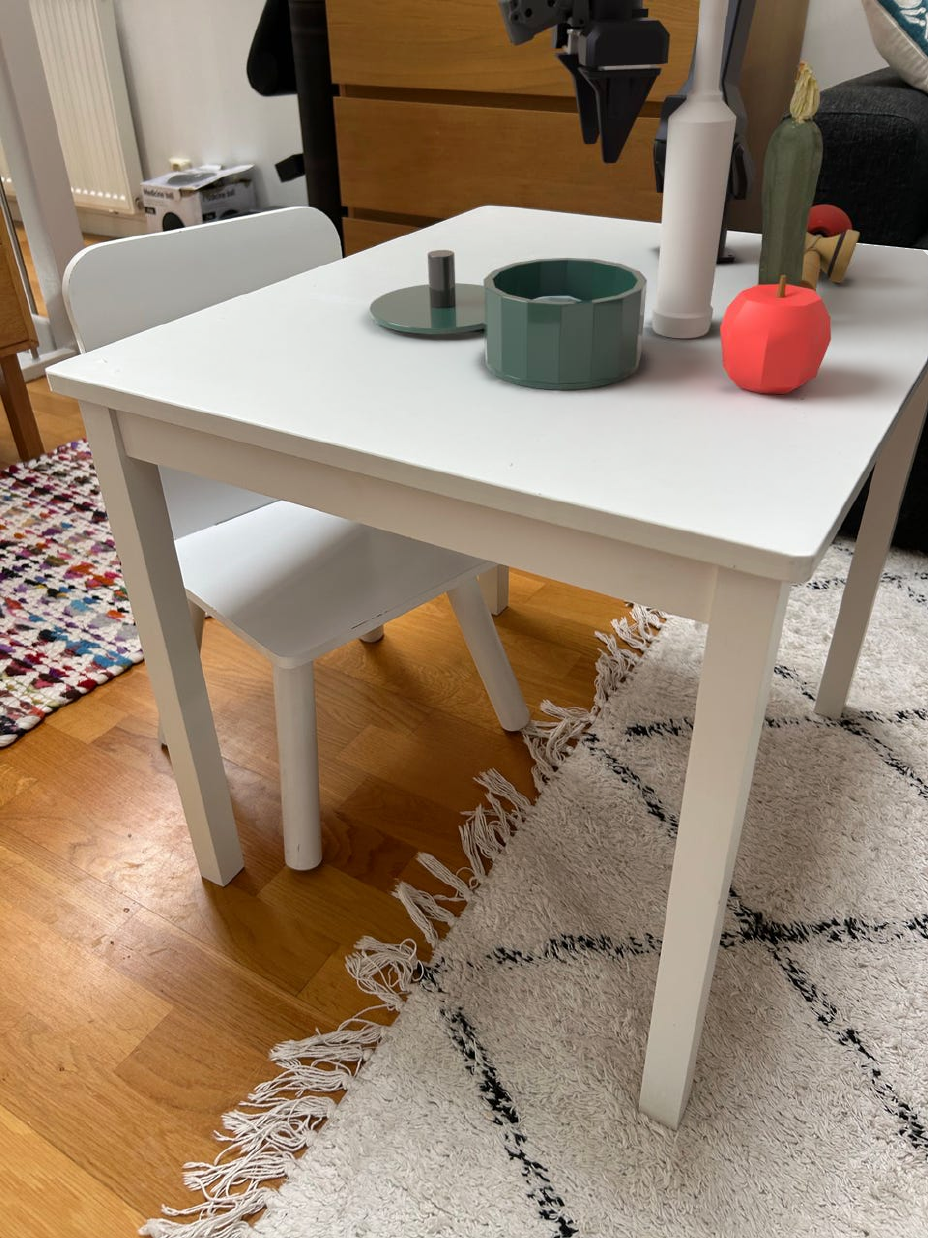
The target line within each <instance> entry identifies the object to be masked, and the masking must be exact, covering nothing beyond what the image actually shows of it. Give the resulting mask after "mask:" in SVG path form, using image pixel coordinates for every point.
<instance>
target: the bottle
mask: <svg viewBox="0 0 928 1238" xmlns="http://www.w3.org/2000/svg"><path fill="white" fill-rule="evenodd" d="M728 2H729V0H699V9H698V10H699V11H698V25H699V26H698V25H697V30H698V36H697V47H696V57H695V67H694V77H693V87H692V90H691V91H690V92H688V93H687V100H686V101H685V102H684V103H683V104H682V105H681V106H680V107H679V108H678V109H677V110H676V111H675V112H674V113H673V114H671V115H670V116H669V120H668V135H667V150H666V165H665V180H664V193H663V194H662V195H663V198H662V212H661V226H660V227H661V228H660V243H659V244H660V245H659V255H658V256H659V258H658V272H657V273H658V274H657V286H656V287H657V288H656V302H655V303H654V305H653V307H652V312H651V324H652V330H653V331H654V332H655V333H656V334H657V335H660V336H663V337H667V338H672V339H695V338H699V337H703V336H705V335H706V334H708V333H709V331H710V328H711V325H712V321H713V314H714V307H713V306H712V305H711V303H712V297H713V296H712V295H713V290H714V283H715V282H714V281H715V276H716V275H715V274H716V268H717V262H716V261H717V254H718V247H719V239H720V232H721V225H722V218H723V211H724V203H725V196H726V189H727V182H728V174H729V167H730V160H731V153H732V146H733V138H734V131H735V124H736V116H735V114H734V113H733V112H732V111H731V110H730V108H729V107H728V106H727V105H726V104H725V102H724V101H723V100H722V94H723V93H722V92H721V91H720V90H719V79H720V69H721V60H722V50H723V41H724V31H725V22H726V16H727V11H728Z"/></svg>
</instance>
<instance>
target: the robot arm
mask: <svg viewBox="0 0 928 1238" xmlns="http://www.w3.org/2000/svg"><path fill="white" fill-rule="evenodd" d="M497 3H498V7H499V9H500V13H501V16H502V19H503V22H504V26H505V30H506V33H507V36H508V38H509V42H510V43H511V44H513V45H514V46H515V47H517V46H520V45H523V44H525V43H527V42H529V41H532V40H533V39H534V37H535V36H536V35H538V34H540V33H542V32H544V31H547V30H549V29H551V30H550V31H551V32H550V47H551V48H553V49H554V50H560V49H563V51H558V52H557V51H555V52H554V53H553V55H554V57H555V58H556V59H557V60H558V61H559V62H560V63H561V65H563V66H564V68H565V69H566V70H567V72H569V74H571V77H572V83H573V88H574V95H575V100H576V106H577V112H578V113H577V114H578V118H579V124H580V130H581V136H582V141H583V142H582V143H583V144H585V145H587V146H588V145H589V146H590V145H595V144H597V142H598V139H599V140H600V149H601V150H600V151H601V159H602V162H603V163H604V164H615V163H616V164H617V162H618V161H619V158H620V156H621V154H622V152H623V149H624V147H625V145H626V143H627V141H628V139H629V136H630V134H631V132H632V130H633V128H634V125H635V123H636V120H637V119H638V117H639V115H640V113H641V110H642V108H643V106H644V104H645V102H646V101H647V98H648V96H649V95H650V93H651V90H652V89H653V86H654V84H655V82H656V81H657V78H658V76H661V74H662V70H663V68H662V66H659V65H664V64H668V63H669V54H670V41H671V34H670V32H669V31H668V30H667V28H666V27H665V26H664V25H663V23H662V22H661V21H660V20H659V19H656V18H652V17H649V8H648V7H645V6H644V0H497ZM756 5H757V0H729V2H728V11H727V16H726V22H725V31H724V41H723V50H722V60H721V69H720V79H719V90H720V91H721V92H722V93H723V94H722V100H723V101H724V102H725V104H726V105H727V106H728V107H729V108H730V110H731V111H732V112H733V113H734V114H735V116H736V124H735V131H734V138H733V146H732V153H731V160H730V167H729V174H728V182H727V189H726V196H725V203H724V211H723V218H722V225H721V232H720V239H719V247H718V254H717V261H716V263H722V262H735V260H736V255H735V254H734V253H733V252H731V250H729V248H727V247H726V245H727V244H726V243H727V235H728V227H729V219H730V211H731V204H732V202H735V201H744V200H745V201H746V200H748V199H749V195H751V193H752V190H753V187H754V183H755V178H756V175H757V174H756V173H757V171H756V168H755V165H754V162H753V159H752V155H751V152H750V150H749V146H748V143H747V141H746V133H747V126H748V116H747V112H746V109H745V105H744V102H743V99H742V96H741V92H740V89H739V85H740V84H739V83H740V78H741V74H742V69H743V65H744V60H745V55H746V51H747V46H748V42H749V37H750V32H751V29H752V28H751V27H752V23H753V18H754V13H755V9H756ZM698 26H699V24H698V25H697V27H698ZM697 36H698V29H697V31H696V36H695V41H694V46H693V52H692V57H691V61H690V66H689V71H688V75H687V79H686V80H685V81H684V83H683V84H682V85H681V86H680V89H678V91H677V92H676V93H675V94H667V95H666V96H665V98H664V100H663V102H662V104H661V111H660V117H659V124H658V127H657V131H656V133H655V137H654V143H653V148H652V149H653V150H652V158H653V166H654V169H653V170H654V177H655V179H654V180H655V189H656V194H662V195H663V194H664V180H665V165H666V150H667V135H668V120H669V116H670V115H671V114H673V113H674V112H675V111H676V110H677V109H678V108H679V107H680V106H681V105H682V104H683V103H684V102H685V101H686V100H687V93H688V92H690V91H691V90H692V87H693V77H694V67H695V57H696V47H697Z"/></svg>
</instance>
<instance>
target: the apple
mask: <svg viewBox="0 0 928 1238" xmlns="http://www.w3.org/2000/svg"><path fill="white" fill-rule="evenodd" d="M719 327H720V328H719V329H720V343H721V355H722V358H721V359H722V367H723V368H724V370H725V372H726V374H727V376H728V378H729V379H730V381H732V382H733V383H734V384H735V385H736V386H737V387H738V388H740V389H742V390H746V391H749V392H753V393H758V394H763V395H764V394H768V395H770V394H771V395H786V394H788V393H790V392H792V391H794V390H795V389H797V388H800V387H801V386H802V385H804V384H807V382H809V381H811V380H813V379H815V378H816V376H817V375H818V373H819V370H820V368H821V365H822V362H823V360H824V357H825V355H826V353H827V350H828V349H829V347H830V343H831V341H832V318H831V316H830V314H829V312H828V310H827V307H826V305H825V302H824V301H823V299H822V297H821V296H820V295H819V294H818V293H817V291H816V292H815V291H814V290H812V289H808V288H803V287H798V286H794V285H789V284H786V275H781V279H780V283H779V284H767V285H758V284H756V285H753V286H751V287H748V288H745V289H743V290H741V291H740V292H739V293H738V294H737V295H736V297H735V298H734V299H732V301H730V304H729V305H728V306H726V310H725V312H724V315H723V319H722V321H721V325H720V326H719Z"/></svg>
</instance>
